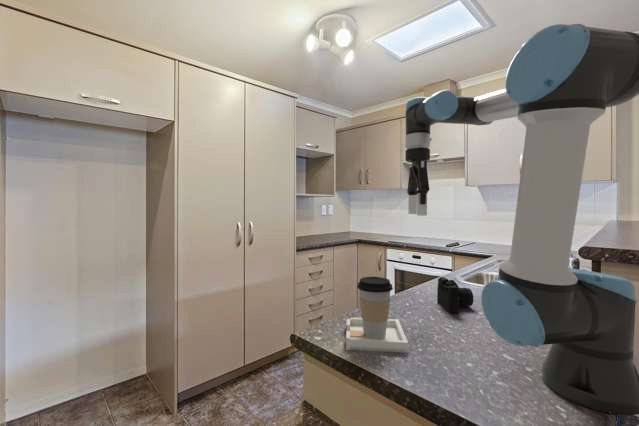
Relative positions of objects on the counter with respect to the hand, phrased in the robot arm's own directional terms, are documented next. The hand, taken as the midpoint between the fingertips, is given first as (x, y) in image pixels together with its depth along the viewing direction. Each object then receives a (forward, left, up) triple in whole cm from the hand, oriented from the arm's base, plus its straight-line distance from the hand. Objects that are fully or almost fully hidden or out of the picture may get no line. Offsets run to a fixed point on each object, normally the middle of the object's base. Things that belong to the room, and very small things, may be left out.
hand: (416, 214), depth 99 cm
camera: (+9, -16, -33) cm, 38 cm away
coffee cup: (-19, +15, -32) cm, 40 cm away
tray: (-19, +15, -33) cm, 41 cm away
